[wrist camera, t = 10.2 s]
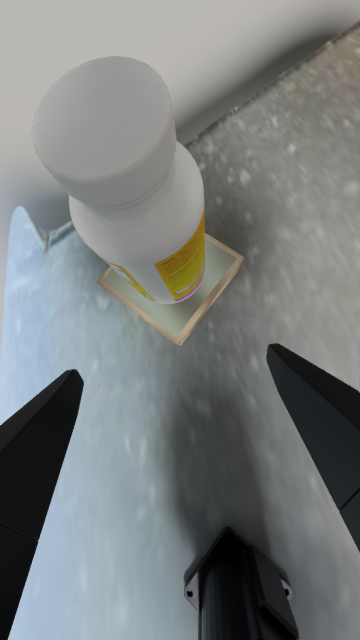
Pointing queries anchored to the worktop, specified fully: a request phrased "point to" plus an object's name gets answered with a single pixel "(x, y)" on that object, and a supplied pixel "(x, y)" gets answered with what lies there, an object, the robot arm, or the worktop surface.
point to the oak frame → (187, 313)
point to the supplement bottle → (126, 174)
